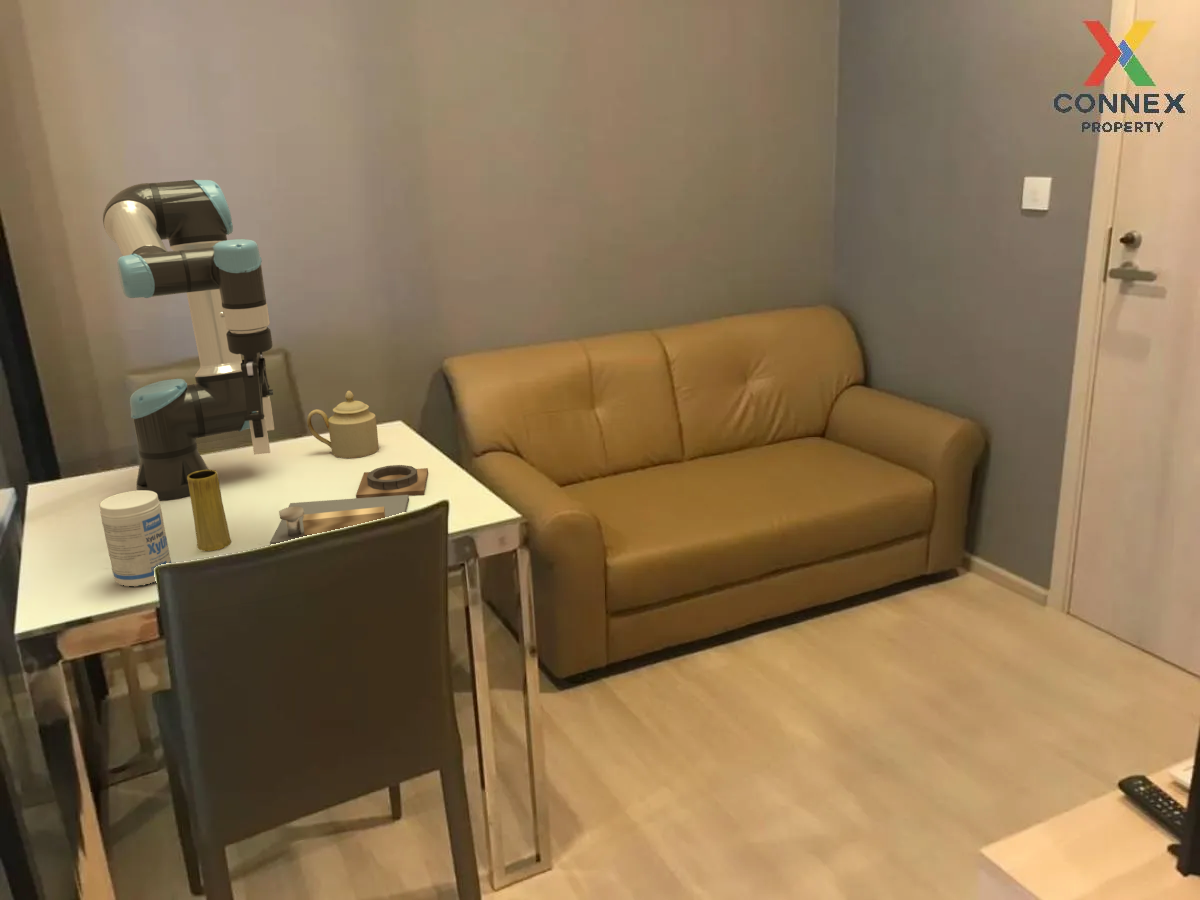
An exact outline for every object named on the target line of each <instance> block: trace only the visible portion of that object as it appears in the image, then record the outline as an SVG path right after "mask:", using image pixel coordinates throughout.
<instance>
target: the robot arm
mask: <svg viewBox="0 0 1200 900" xmlns="http://www.w3.org/2000/svg"><path fill="white" fill-rule="evenodd" d="M232 220H233V219H232V215H231V211H230V208H229V204H228V201H227V199H226V197H225V194H224V192H223V189H222V188H221V186H220V185H219V184H218V183H217V182H216V181H214V180H211V179H188V180H177V181H176V180H175V181H163V182H162V181H161V182H150V183H149V182H145V183H143V182H141V183H138V184H133V185H130V186H129V187H126V188H125V189H122V190H120V191H119V192H118V193H116V194H115V195H114V196H113V197H112V198H110V200H109V201H108V203H107V204H106V206H105V208H104V209H103V213H102V223H103V228H104V230H105V232H106V235H107V236H108V237H109V239H110V240H111V241H113V242H114V243H115V244H116V245H117V246H118V248H119V251H120V253H121V255H122V256H120V257H119V258H118V259H117V271H118V276H119V281H120V285H121V289H122V293H123V294H124V296H125V297H127V298H128V299H136V298H137V299H139V298H144V299H149V298H154V297H161V296H162V297H163V296H169V295H178V294H186V297H187V301H188V308H189V312H190V318H191V324H192V329H193V333H194V338H195V344H196V348H197V354H198V360H199V369H198V370H197V372H196V373H195V374H194V380H195V383H193V384H188V383H187V382H186V380H185V379H183V378H173V379H172V378H171V379H170V378H169V379H168V378H167V379H163V380H159V381H155V382H152V383H149V384H146V385H144V386H142V387H140V388H137V389H136V390H135V391H134V392H133V393H132V394H131V396H130V397H129V405H130V418H131V419H132V421H133V422H132V423H133V426H134V432H135V437H136V443H137V449H138V454H139V455H138V456H139V460H140V461H139V465H138V466H139V467H138V470H137V471H138V472H137V478H136V491H138V490H147V491H153V492H155V493H157V495H158V499H159V501H166V500H174V499H180V498H181V499H182V498H186V497H188V496H189V497H190V491H189V486H188V480H187V476H188V475H189V474H190V473H193V472H196V471H200V470H210V469H209V467H208V466H207V464H206V462H205V460H204V459H203V457H202V456H201V454H200V452H199V450H198V445H197V440H196V439H199V438H205V437H206V438H207V437H211V436H212V437H213V436H217V435H223V434H228V433H233V432H234V433H235V432H243V431H245V430H249V429H250V430H249V431H250V436H251V442H252V449H253V455H263V454H270V453H271V448H270V440H269V436H268V435H269V434H268V431H274V430H275V424H274V417H273V409H272V403H271V398H270V397H271V396H273V395H274V389H271V388H270V387H271V386H270V384H269V380H268V375H267V367H266V365H267V364H266V358H265V357H264V355H263V353H265V352H268V351H270V350H272V348H273V340H272V339H273V338H272V331H271V329H270V328H269V327H268V326H269V325H270V324H271V322H270V316H269V309H268V302H267V299H266V294H265V293H266V289H265V285H264V284H265V283H264V276H263V268H262V261H263V260H262V257H261V254H260V250H259V246H258V244H257V242H256V241H255V240H252V239H241V238H240V239H228V237H227V235H228V236H229V235H231V234H233V231H234V226H233V225H234V224H233V222H232ZM163 240H168V243H169V248H170V250H169V251H168V249H167V247H166V246H165V244H164V243H163ZM171 250H172V251H171ZM242 356H243V359H242Z"/></svg>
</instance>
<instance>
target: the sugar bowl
mask: <svg viewBox="0 0 1200 900" xmlns="http://www.w3.org/2000/svg"><path fill="white" fill-rule="evenodd" d="M354 397H355V395H354V394H353V392H352V391H351V390H347V391H346V392H345V394H344V398H345V400H346V401H342V402H340V403H339V404H337V405H336V406H335V407H333V408H332V412H334V414H333V415H332V416H330V417H328V415H327V413H325V412H324V411H323V410H321V409H313V410H312V411H310V412H309V413H308V415H307V418H306V424H307V425H306V426H307V427H308V430H309V432H310V433H311V435H313V437H314V438H315V439H317V440H318V441H319V442H321V443H323V444H324V445H326V446H329V448H330V449H331V454H332V456H334V457H337V458H339V457H340V458H341V457H342V458H341V459H357V457H359V458H363V457H368V456H371V455H373V454H375V453H377V452H378V450H379V448H380V447H379V436H378V433H379V432H378V427H377V426H378V425H377V417H376V414H375V413H374V412H371V411H370V410H369V407H370V406H369V405H368V404H366V403H364V402H363V401H360V400H353V399H354ZM315 415H319V416H321V418H322V419H323V422H324V424H325V426H326V428H327V430H328V433H329V434H328V435H329V440H328V439H327V438H325V437H324V436H321V435H320V434H319V433H318V432H317V431H316V430H315V428H314V427H313V425H312V418H313V416H315ZM340 458H339V459H340Z"/></svg>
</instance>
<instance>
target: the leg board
mask: <svg viewBox="0 0 1200 900" xmlns="http://www.w3.org/2000/svg"><path fill="white" fill-rule="evenodd" d="M409 497H410V496H408V495H397V496H383V497H369V498H356V497H355V498H345V499H344V498H342V499H331V500H330V499H329V500H328V499H327V500H316V501H315V500H314V501H303V502H302V501H301V502H299V501H298V502H290V503H289V505H288V507H294V506H297V507H302V508H303V510H304V515H306V514H315V513H325V512H335V511H345V510H355V509H365V508H375V507H384V509H385V517H389V516H392V515H396V514H399V513H402V512H406V513H407V509H408V505H409V501H410V498H409ZM304 515H303V516H302V517H301V518H299V521H300V528H301V535H299V536H296V537H290V536H288V531H287V524H286V520H282V519H281V521H280V522H279V523H278V526H277V527H276V530H275V532H274V533H273V535H272V538H271V539H270V541H269V545H271V544H276V543H280V542H284V541H288V540H291V539H295V538H299V537H303V536H307V535H305V534H304V527H303V517H304Z"/></svg>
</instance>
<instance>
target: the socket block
mask: <svg viewBox="0 0 1200 900" xmlns="http://www.w3.org/2000/svg"><path fill="white" fill-rule="evenodd" d="M428 475H429V468H428V467H424V468H415V467H413V466H411V465H405V464H393V465H386V466H381V467H378V468H375V469H373V470H371V471H365V472H363V474H362V477H361V479H360V482H359V485H358V488H357V490H356V491H357V492H356V494H355V498H369V497H383V496H397V495H408V496H409V497H412V496H423V495H425V492H426V486H427V480H428Z"/></svg>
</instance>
